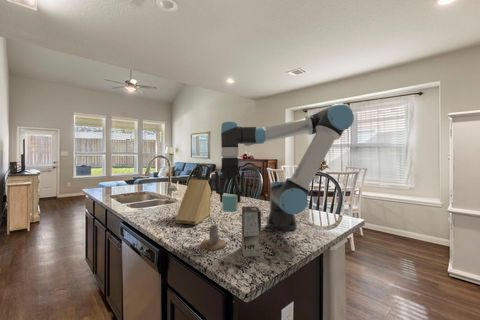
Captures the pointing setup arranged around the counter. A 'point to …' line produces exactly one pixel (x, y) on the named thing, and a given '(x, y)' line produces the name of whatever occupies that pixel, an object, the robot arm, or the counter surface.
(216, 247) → the post
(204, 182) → the knife block
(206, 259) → the counter surface
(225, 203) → the teal rectangular block
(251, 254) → the coffee box
